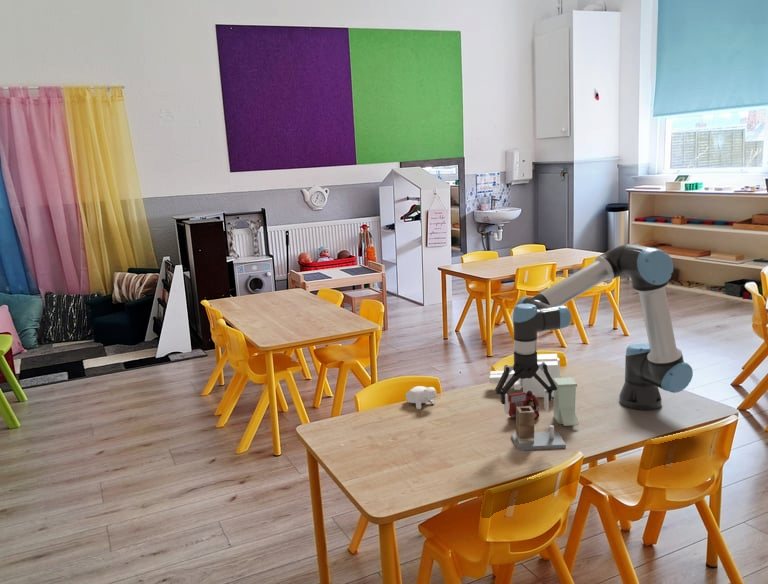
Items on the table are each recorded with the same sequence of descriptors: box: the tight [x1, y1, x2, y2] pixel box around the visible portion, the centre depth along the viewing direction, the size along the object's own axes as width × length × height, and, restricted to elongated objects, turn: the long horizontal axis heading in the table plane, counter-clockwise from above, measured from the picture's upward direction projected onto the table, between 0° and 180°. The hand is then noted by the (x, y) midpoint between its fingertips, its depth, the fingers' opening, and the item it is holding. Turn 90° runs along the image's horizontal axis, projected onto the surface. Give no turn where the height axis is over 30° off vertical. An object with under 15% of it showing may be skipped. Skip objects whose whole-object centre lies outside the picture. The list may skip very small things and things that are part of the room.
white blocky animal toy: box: [405, 385, 438, 410], centre depth 255 cm, size 9×8×15 cm
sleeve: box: [515, 406, 535, 443], centre depth 218 cm, size 5×5×11 cm
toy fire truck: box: [507, 391, 540, 422], centre depth 238 cm, size 7×12×10 cm, turn 109°
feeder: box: [553, 376, 579, 427], centre depth 233 cm, size 7×12×15 cm, turn 2°
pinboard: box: [510, 425, 567, 451], centre depth 219 cm, size 16×10×6 cm, turn 92°
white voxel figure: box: [489, 353, 562, 398], centre depth 264 cm, size 15×25×28 cm
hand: (526, 411), depth 217 cm, fingers open, 13 cm apart
